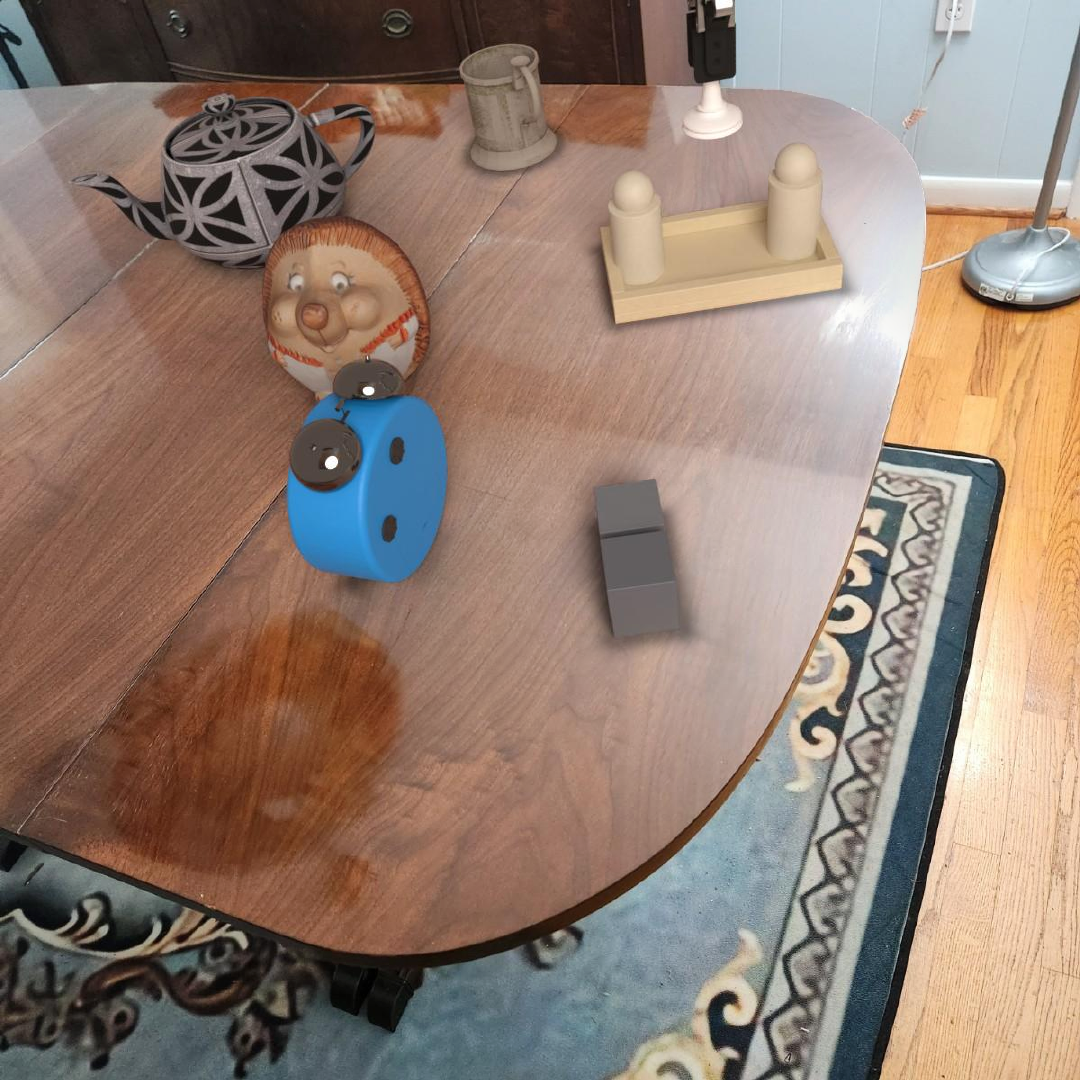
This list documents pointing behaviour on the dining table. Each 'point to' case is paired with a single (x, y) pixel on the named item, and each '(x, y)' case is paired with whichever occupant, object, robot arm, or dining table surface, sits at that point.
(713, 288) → the pawn tray
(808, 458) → the dining table surface
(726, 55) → the robot arm
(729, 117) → the chess piece
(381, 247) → the figurine
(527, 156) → the mug
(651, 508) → the slate blocks
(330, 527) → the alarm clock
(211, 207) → the teapot
